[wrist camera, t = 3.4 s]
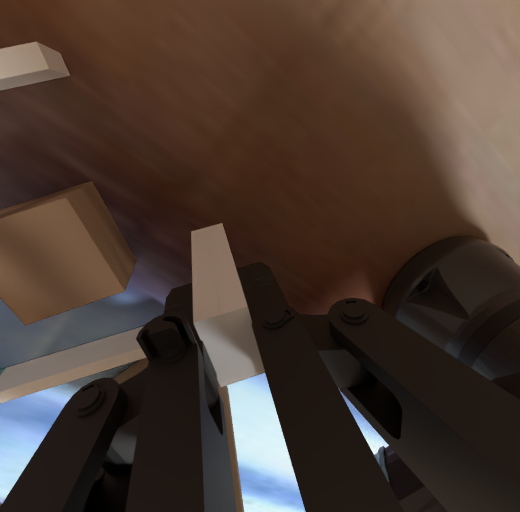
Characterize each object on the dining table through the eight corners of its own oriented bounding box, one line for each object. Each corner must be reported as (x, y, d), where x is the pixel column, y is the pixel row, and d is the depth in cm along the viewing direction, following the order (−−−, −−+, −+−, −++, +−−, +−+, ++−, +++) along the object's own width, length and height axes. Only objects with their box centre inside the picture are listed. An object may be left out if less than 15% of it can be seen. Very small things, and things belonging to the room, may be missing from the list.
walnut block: (92, 180, 21) (66, 197, 16) (136, 259, 24) (124, 291, 20) (-3, 210, 20) (-56, 236, 16) (55, 286, 24) (25, 325, 19)
